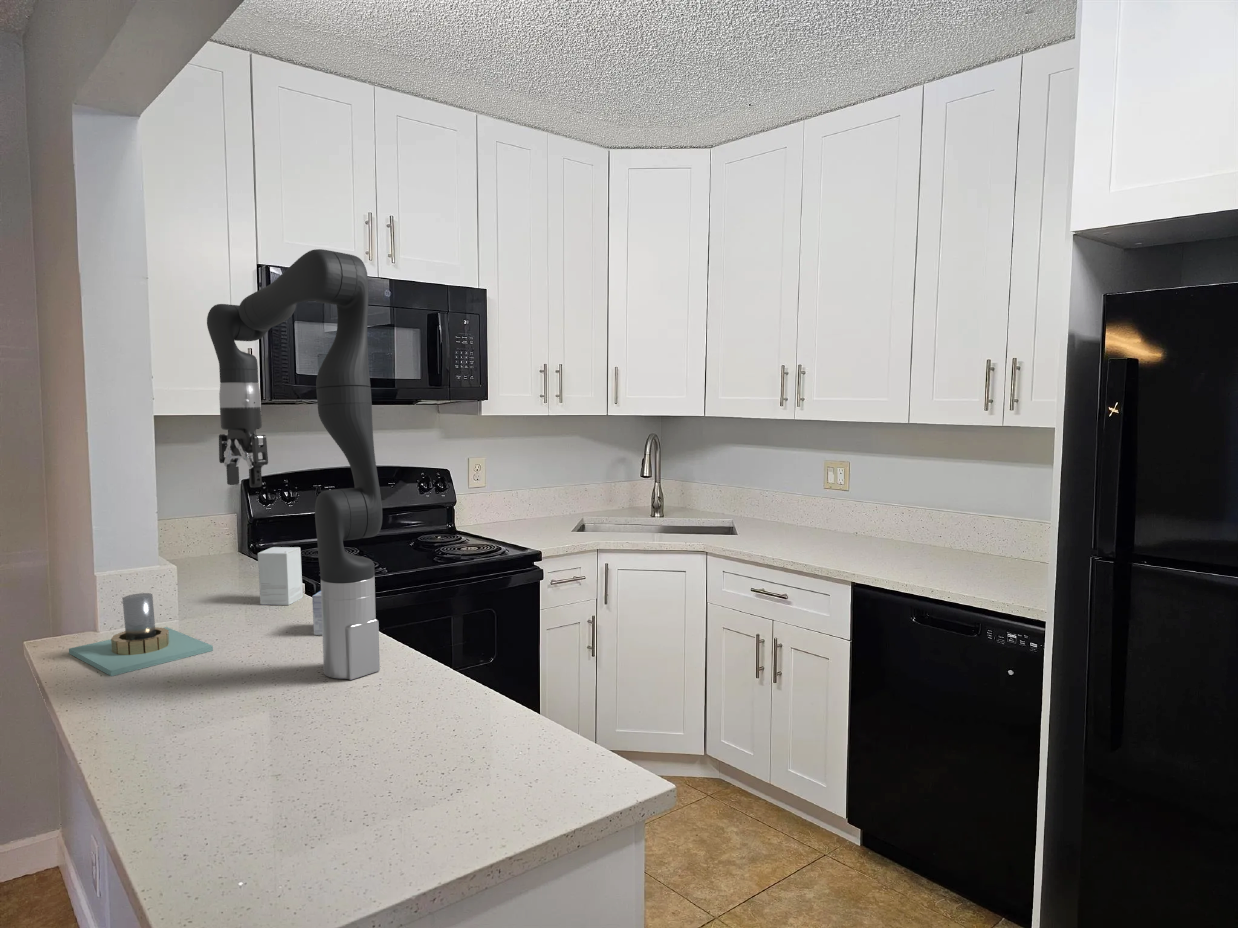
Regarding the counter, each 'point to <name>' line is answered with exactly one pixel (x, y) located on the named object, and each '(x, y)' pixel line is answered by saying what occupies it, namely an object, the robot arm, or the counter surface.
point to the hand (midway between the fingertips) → (244, 485)
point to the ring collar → (140, 643)
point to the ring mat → (118, 664)
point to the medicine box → (317, 613)
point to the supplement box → (280, 575)
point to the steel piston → (139, 616)
